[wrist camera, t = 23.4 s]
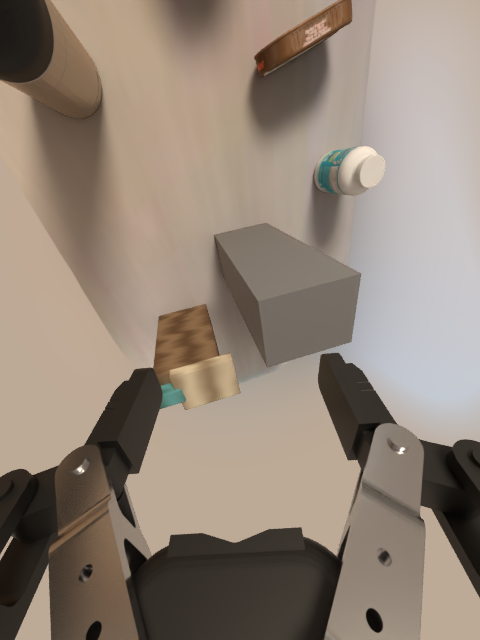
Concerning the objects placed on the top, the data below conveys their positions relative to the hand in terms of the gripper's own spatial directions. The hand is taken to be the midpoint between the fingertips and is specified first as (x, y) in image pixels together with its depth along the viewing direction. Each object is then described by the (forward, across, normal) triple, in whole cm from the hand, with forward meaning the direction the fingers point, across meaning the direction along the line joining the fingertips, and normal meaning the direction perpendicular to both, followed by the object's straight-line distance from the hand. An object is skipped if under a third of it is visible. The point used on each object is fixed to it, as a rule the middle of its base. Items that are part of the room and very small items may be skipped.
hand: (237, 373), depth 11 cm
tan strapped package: (+22, +13, +24) cm, 35 cm away
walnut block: (+43, +15, +23) cm, 51 cm away
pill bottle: (+50, -21, -7) cm, 55 cm away
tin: (+48, -12, -25) cm, 55 cm away
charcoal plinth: (+46, -1, +7) cm, 47 cm away
